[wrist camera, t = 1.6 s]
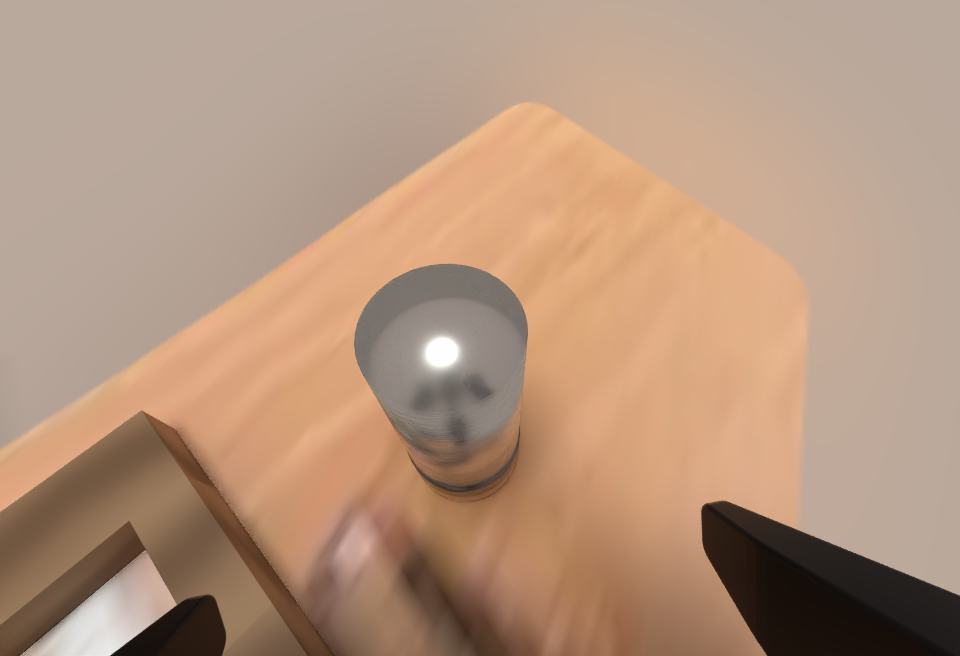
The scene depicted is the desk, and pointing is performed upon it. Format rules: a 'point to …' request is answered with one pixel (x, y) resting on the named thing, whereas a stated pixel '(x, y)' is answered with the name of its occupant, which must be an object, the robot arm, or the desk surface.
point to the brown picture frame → (140, 544)
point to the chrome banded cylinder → (449, 373)
